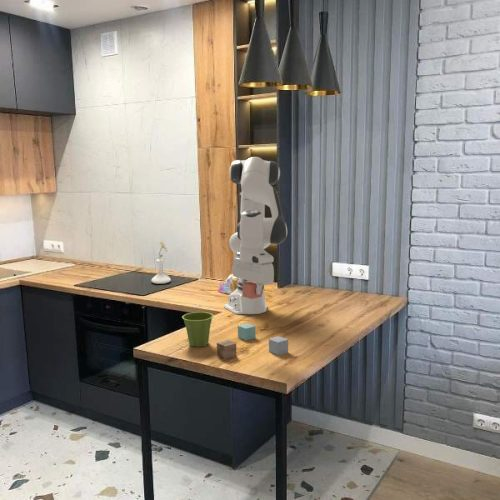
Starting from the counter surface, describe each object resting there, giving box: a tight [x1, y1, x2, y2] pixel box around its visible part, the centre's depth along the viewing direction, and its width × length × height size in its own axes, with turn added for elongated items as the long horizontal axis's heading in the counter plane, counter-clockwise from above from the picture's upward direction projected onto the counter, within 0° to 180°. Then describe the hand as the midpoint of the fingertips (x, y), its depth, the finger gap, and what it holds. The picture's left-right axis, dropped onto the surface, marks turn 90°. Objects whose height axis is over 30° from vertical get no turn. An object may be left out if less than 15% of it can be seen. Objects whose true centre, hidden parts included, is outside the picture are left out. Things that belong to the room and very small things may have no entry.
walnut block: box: [216, 339, 237, 360], centre depth 183 cm, size 5×5×5 cm
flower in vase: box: [150, 240, 172, 285], centre depth 300 cm, size 13×11×25 cm
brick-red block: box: [243, 281, 262, 299], centre depth 188 cm, size 5×5×5 cm
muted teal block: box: [237, 323, 257, 341], centre depth 203 cm, size 5×5×5 cm
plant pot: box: [181, 311, 214, 348], centre depth 195 cm, size 12×12×11 cm
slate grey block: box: [268, 335, 289, 356], centre depth 187 cm, size 5×5×5 cm
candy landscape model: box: [217, 273, 240, 295], centre depth 283 cm, size 25×24×9 cm
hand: (252, 292), depth 188 cm, fingers closed on brick-red block, 5 cm apart
